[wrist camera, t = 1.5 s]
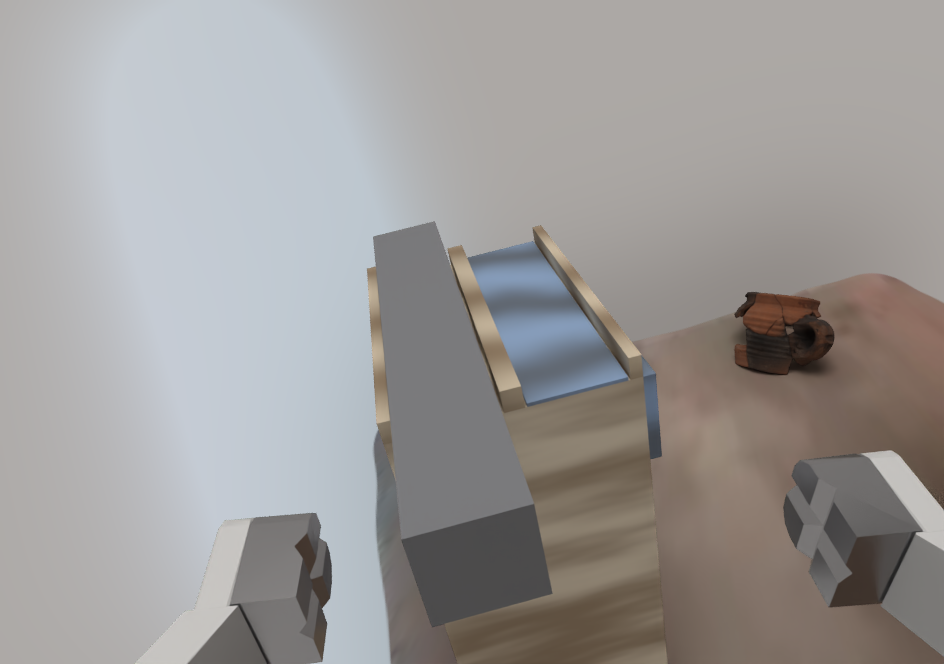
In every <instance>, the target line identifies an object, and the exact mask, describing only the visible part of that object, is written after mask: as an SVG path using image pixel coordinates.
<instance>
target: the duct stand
mask: <svg viewBox="0 0 944 664" xmlns="http://www.w3.org/2000/svg"><path fill="white" fill-rule="evenodd" d="M533 234H534V240H535V243H534V242H533V241H532V242H528V243H524V244H520V245H516V246H512V247H509V248H505V249H500V250H496V251H492V252H488V253H484V254H480V255H477V256H472V257H468V258H467V257H466V254H465V252H464V250H463V247H462V245H460V246H456V247H452V248H448V253H449V257H450V262H451V265H450V266H451V269H452V272H453V275H454V277H455V280H456V283H457V286H458V289H459V292H460V294H461V297H462V300H463V303H464V306H465V309H466V311H467V314H468V317H469V320H470V323H471V326H472V329H473V331H474V334H475V337H476V340H477V343H478V346H479V348H480V351H481V354H482V357H483V360H484V363H485V365H486V368H487V371H488V374H489V377H490V380H491V382H492V385H493V388H494V391H495V394H496V397H497V400H498V402H499V405H500V408H501V411H502V414H503V417H504V419H505V422H506V425H507V428H508V431H509V434H510V436H511V439H512V442H513V445H514V448H515V451H516V453H517V456H518V459H519V462H520V465H521V468H522V471H523V473H524V476H525V479H526V482H527V485H528V488H529V490H530V493H531V496H532V499H533V502H534V505H535V510H536V515H537V520H538V525H539V530H540V534H541V539H542V544H543V549H544V554H545V559H546V564H547V569H548V573H549V578H550V583H551V588H552V593H553V594H550V595H547V596H543V597H540V598H536V599H532V600H529V601H525V602H521V603H518V604H514V605H511V606H507V607H503V608H500V609H496V610H493V611H489V612H485V613H482V614H478V615H475V616H471V617H467V618H464V619H460V620H456V621H453V622H449V623H446V624H444V625H445V628H446V631H447V634H448V637H449V640H450V643H451V646H452V649H453V652H454V655H455V658H456V661H457V664H668V663H667V652H666V640H665V628H664V616H663V604H662V593H661V581H660V569H659V557H658V545H657V534H656V522H655V510H654V498H653V486H652V475H651V463H650V459H654V458H657V457H661V456H662V452H661V439H660V425H659V411H658V398H657V384H656V373H655V372H654V371H653V369H652V368H651V367H650V365H649V364H648V363H647V361H646V360H645V359H644V358H643V356H642V355H641V354H640V352H639V351H638V350H637V349H636V347H635V346H634V345H633V343H632V342H631V341H630V340H629V338H628V337H627V336H626V335H625V333H624V332H623V330H622V329H621V328H620V327H619V325H618V324H617V323H616V321H615V320H614V319H613V318H612V316H611V315H610V314H609V313H608V311H607V310H606V309H605V307H604V306H603V305H602V303H601V302H600V301H599V300H598V298H597V297H596V296H595V294H594V293H593V292H592V291H591V289H590V288H589V287H588V286H587V284H586V283H585V282H584V281H583V279H582V278H581V276H580V275H579V274H578V273H577V271H576V270H575V269H574V267H573V266H572V265H571V264H570V262H569V261H568V260H567V258H566V257H565V256H564V255H563V253H562V252H561V251H560V249H559V248H558V247H557V246H556V244H555V243H554V242H553V240H552V239H551V238H550V236H549V235H548V234H547V233H546V231H545V230H544V229H543V227H542V226H541V225H540V226H536V227H533ZM367 273H368V290H369V307H370V323H371V338H372V355H373V372H374V388H375V404H376V421H377V426H378V429H379V432H380V435H381V438H382V441H383V444H384V447H385V450H386V453H387V456H388V459H389V462H390V465H391V468H392V471H393V474H394V477H395V466H394V455H393V445H392V434H391V423H390V412H389V402H388V391H387V380H386V369H385V359H384V348H383V337H382V326H381V315H380V305H379V294H378V283H377V272H376V267H372V268H368V269H367ZM395 480H396V477H395Z"/></svg>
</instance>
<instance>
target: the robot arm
mask: <svg viewBox="0 0 944 664" xmlns="http://www.w3.org/2000/svg"><path fill="white" fill-rule="evenodd" d="M792 477H793V479H794V481H795V482H796V484H797V485H796V486H795V487H794V488H793V489H791V490H790V491H789V492H788V493H787V494H786V498H785V502H784V507H783V509H784V518H785V524H786V527H787V530H788V533H789V536H790V538H791V540H792V542H793V543H794V545H795V547H796V549H798V550H799V551H801V552H802V553H803V554H805V555H806V556H808V557H809V558H811V559H812V560H811V565H810V569H809V573H810V575H811V576H812V578H813V580H814V582H815V584H816V585H817V587H818V589H819V591H820V593H821V594H822V596H823V598H824V600H825V602H826V603H827V605H828V607H841V606H854V605H866V604H879V603H882V604H881V607H883V608H884V609H885V610H886V611H888V612H889V613H890V614H891V615H893V616H894V617H895V618H896V619H897V620H899V621H900V622H901V623H902V624H904V625H905V626H906V627H907V628H909V629H910V630H911V631H912V632H914V633H915V634H916V635H917V636H919V637H920V638H921V639H922V640H923V641H925V642H926V643H927V644H928V645H930V646H931V647H932V648H933V649H935V650H936V651H937V652H938V653H940V654H941V655H942V656H943V657H944V510H943V508H942V507H941V506H940V505H939V504H938V502H937V501H936V500H935V499H934V497H933V496H932V495H931V494H930V493H929V491H928V490H927V489H926V488H925V486H924V485H923V484H922V483H921V482H920V480H919V479H918V478H917V477H916V475H915V474H914V473H913V472H912V471H911V469H910V468H909V467H908V466H907V464H906V463H905V462H904V461H903V460H902V458H901V457H900V456H899V455H898V454H896V453H895V452H893V451H891V450H890V451H881V452H871V453H862V454H848V455H840V456H832V457H823V458H815V459H807V460H800V461H799V462H798V463H797V464H796V465H795V467H794V470H793V473H792ZM320 528H321V525H320V522H319V520H318V517H317V514H316V513H306V514H295V515H282V516H269V517H256V518H247V519H237V520H225V521H224V522H223V524H222V525H221V526H220V528H219V529H218V532H217V535H216V539H215V542H214V545H213V549H212V553H211V555H210V559H209V562H208V565H207V568H206V572H205V575H204V579H203V582H202V585H201V589H200V592H199V595H198V598H197V602H196V605H195V608H194V610H189V611H185V612H184V613H183V614H182V615H181V616H180V617H179V618H178V619H177V620H176V621H175V622H174V623H173V624H172V625H171V626H170V627H169V628H168V629H167V630H166V631H165V632H164V633H163V634H162V635H161V636H160V638H159V639H158V640H157V641H156V642H155V643H154V644H153V645H152V646H151V647H150V648H149V649H148V650H147V651H146V652H145V653H144V654H143V655H142V656H141V657H140V658H139V659H138V660H137V662H136V663H135V664H310V663H317V662H322V660H323V652H324V643H325V636H326V628H327V622H326V619H325V616H324V613H323V610H322V608H323V606H324V605H325V604H326V603H327V601H328V600H329V599H330V594H331V584H332V568H331V567H332V565H331V559H330V552H329V549H328V546H327V543H326V542H325V541H323V540H321V539H320V538H319V536H320Z"/></svg>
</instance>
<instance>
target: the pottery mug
mask: <svg viewBox="0 0 944 664" xmlns="http://www.w3.org/2000/svg"><path fill="white" fill-rule="evenodd" d="M745 297H747V301H746V302H745V303H744V304H743V305H742V306H741V307H739V308H738V310H737V312H736V313H735V317H736V318H738V317H739V316H741V317H743V324H744V325H745V326H746V327H747V329H746V336H747V339H746V340H747V345H740V344H737V345H735V363H736V364H738V365H741V366H745V367H749V368H753V369H757V370H758V371H764V372H770V373H776V374H785V375H786V374H788V370H789V366H790V364H791V361H792V359H794V360H795V361H796V362H797V363H798V364H800V365H802V366H804V365H806V364H808V363H810V362H811V361H812V360H817V359H820V358H821V357H823V356H824V355H825V354H826V353H827V352H828V351H829V350H830V348H831V347H832V345H833V342H834V331H833V329H832V327H831V326H830V325H829V324H828V323H827V322H826V321H824V320H818V319H817V318H819V317H821V315H820V313H819V312H818V307H819V305H820V301H817V300H814V299H810V298H804V297H796V296H788V295H779V294H778V295H775V294H768V293H758V292H748V293H747V294H746V295H745ZM785 326H793V329H794V332H793V333H791V334H789V335H787V333H786V328H785Z"/></svg>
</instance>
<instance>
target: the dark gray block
mask: <svg viewBox="0 0 944 664" xmlns="http://www.w3.org/2000/svg"><path fill="white" fill-rule="evenodd" d="M373 240H374V249H375V250H374V251H375V262H376V272H377V283H378V294H379V305H380V315H381V326H382V337H383V348H384V359H385V369H386V380H387V391H388V402H389V412H390V423H391V434H392V445H393V455H394V466H395V477H396V488H397V499H398V509H399V520H400V531H401V540H402V543H403V546H404V549H405V551H406V554H407V557H408V560H409V563H410V566H411V569H412V571H413V574H414V577H415V580H416V583H417V586H418V588H419V591H420V594H421V597H422V600H423V603H424V605H425V608H426V611H427V614H428V617H429V620H430V622H431V625H432V627H435V626H438V625H442V624H446V623H449V622H453V621H456V620H460V619H464V618H467V617H471V616H475V615H478V614H482V613H485V612H489V611H493V610H496V609H500V608H503V607H507V606H511V605H514V604H518V603H521V602H525V601H529V600H532V599H536V598H540V597H543V596H547V595H550V594H553V593H552V588H551V583H550V578H549V573H548V569H547V564H546V559H545V554H544V549H543V544H542V539H541V534H540V530H539V525H538V520H537V515H536V510H535V505H534V502H533V499H532V496H531V493H530V490H529V488H528V485H527V482H526V479H525V476H524V473H523V471H522V468H521V465H520V462H519V459H518V456H517V453H516V451H515V448H514V445H513V442H512V439H511V436H510V434H509V431H508V428H507V425H506V422H505V419H504V417H503V414H502V411H501V408H500V405H499V402H498V400H497V397H496V394H495V391H494V388H493V385H492V382H491V380H490V377H489V374H488V371H487V368H486V365H485V363H484V360H483V357H482V354H481V351H480V348H479V346H478V343H477V340H476V337H475V334H474V331H473V329H472V326H471V323H470V320H469V317H468V314H467V311H466V309H465V306H464V303H463V300H462V297H461V294H460V292H459V289H458V286H457V283H456V280H455V277H454V275H453V272H452V269H451V266H450V263H449V260H448V257H447V255H446V252H445V249H444V246H443V243H442V241H441V238H440V235H439V232H438V229H437V226H436V223H435V222H431V223H426V224H422V225H419V226H414V227H410V228H406V229H402V230H398V231H394V232H390V233H386V234H382V235H378V236H374V237H373Z"/></svg>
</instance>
